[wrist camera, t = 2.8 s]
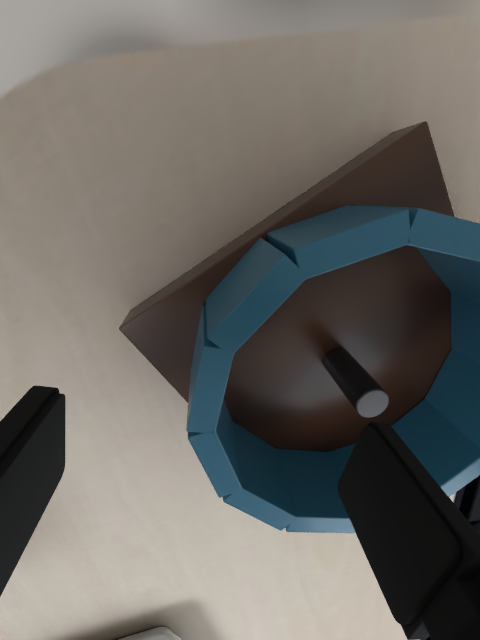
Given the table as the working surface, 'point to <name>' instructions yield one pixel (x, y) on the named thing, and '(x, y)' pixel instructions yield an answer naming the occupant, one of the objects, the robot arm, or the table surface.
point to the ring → (264, 299)
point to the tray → (154, 635)
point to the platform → (324, 315)
